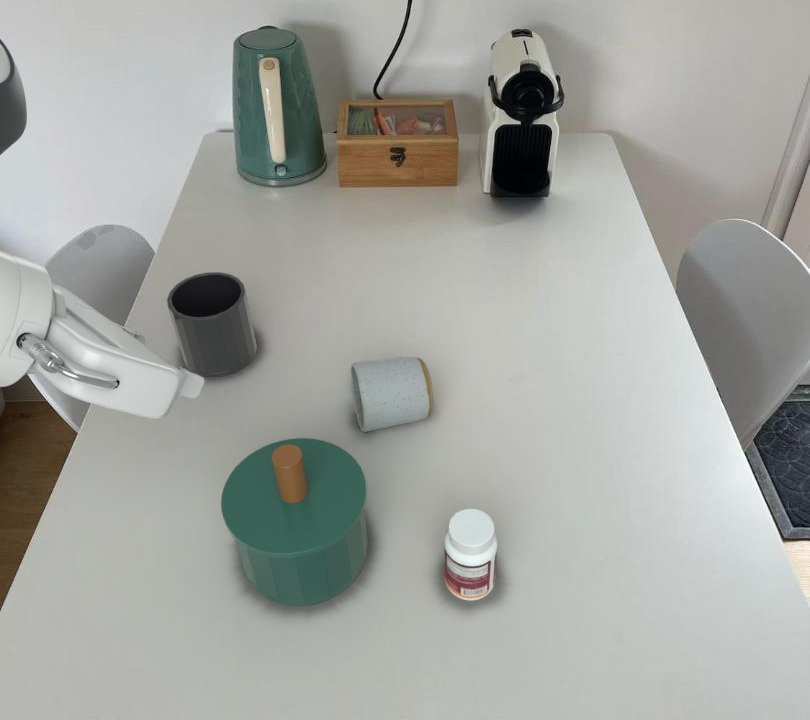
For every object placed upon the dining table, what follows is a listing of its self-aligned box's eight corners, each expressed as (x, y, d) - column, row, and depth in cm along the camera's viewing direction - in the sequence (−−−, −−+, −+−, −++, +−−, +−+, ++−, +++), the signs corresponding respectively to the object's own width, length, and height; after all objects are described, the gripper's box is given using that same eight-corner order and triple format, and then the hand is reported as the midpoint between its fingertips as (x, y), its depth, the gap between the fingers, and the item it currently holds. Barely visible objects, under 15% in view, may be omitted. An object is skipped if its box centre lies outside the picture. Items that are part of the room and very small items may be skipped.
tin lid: (235, 580, 68) (220, 536, 63) (214, 466, 77) (201, 420, 73) (384, 538, 70) (380, 493, 66) (347, 433, 79) (342, 387, 75)
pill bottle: (461, 549, 78) (463, 495, 73) (504, 573, 76) (509, 520, 71) (434, 585, 76) (433, 532, 70) (477, 611, 74) (480, 559, 68)
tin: (254, 622, 74) (238, 569, 68) (235, 519, 82) (219, 464, 76) (381, 585, 76) (376, 531, 70) (350, 488, 84) (343, 434, 79)
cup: (188, 384, 97) (170, 326, 91) (180, 337, 103) (164, 280, 97) (262, 367, 99) (250, 309, 92) (250, 322, 105) (238, 265, 99)
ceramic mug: (437, 430, 90) (436, 380, 85) (365, 446, 88) (360, 396, 83) (412, 369, 98) (410, 319, 93) (345, 383, 96) (339, 333, 91)
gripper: (77, 324, 47) (255, 374, 58) (-38, 236, 60) (124, 290, 71) (35, 422, 47) (220, 454, 58) (-70, 313, 61) (96, 356, 71)
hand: (166, 363), depth 65 cm, fingers open, 8 cm apart
